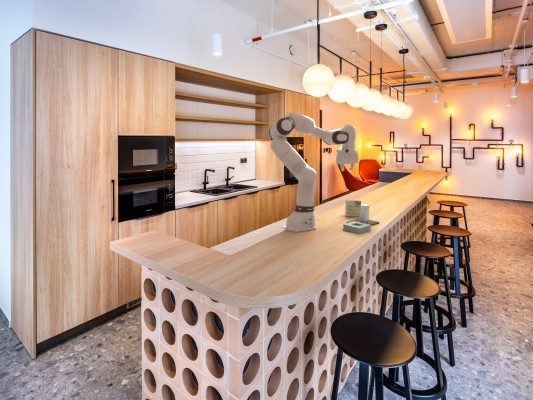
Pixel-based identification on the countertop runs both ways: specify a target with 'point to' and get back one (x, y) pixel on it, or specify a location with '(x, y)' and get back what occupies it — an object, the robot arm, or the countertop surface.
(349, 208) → the box
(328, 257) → the countertop surface
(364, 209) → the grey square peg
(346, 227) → the block
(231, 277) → the countertop surface
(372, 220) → the mat
